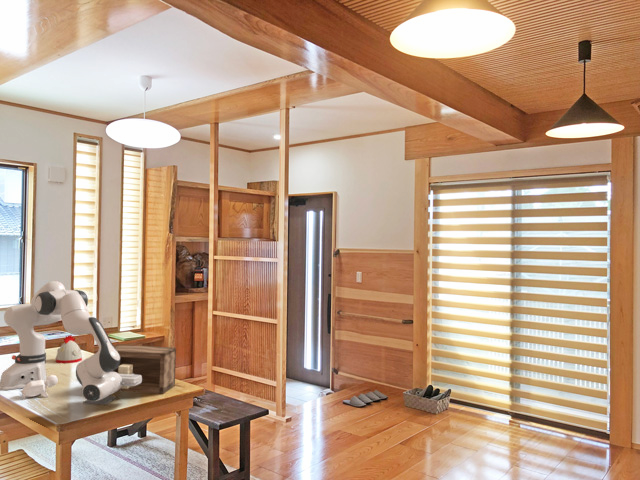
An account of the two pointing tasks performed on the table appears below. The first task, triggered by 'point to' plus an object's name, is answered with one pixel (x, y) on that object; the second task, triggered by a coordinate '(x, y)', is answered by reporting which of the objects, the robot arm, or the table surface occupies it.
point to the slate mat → (102, 401)
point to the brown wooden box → (149, 367)
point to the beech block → (125, 372)
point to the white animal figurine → (39, 387)
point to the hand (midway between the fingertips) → (126, 374)
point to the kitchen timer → (69, 351)
